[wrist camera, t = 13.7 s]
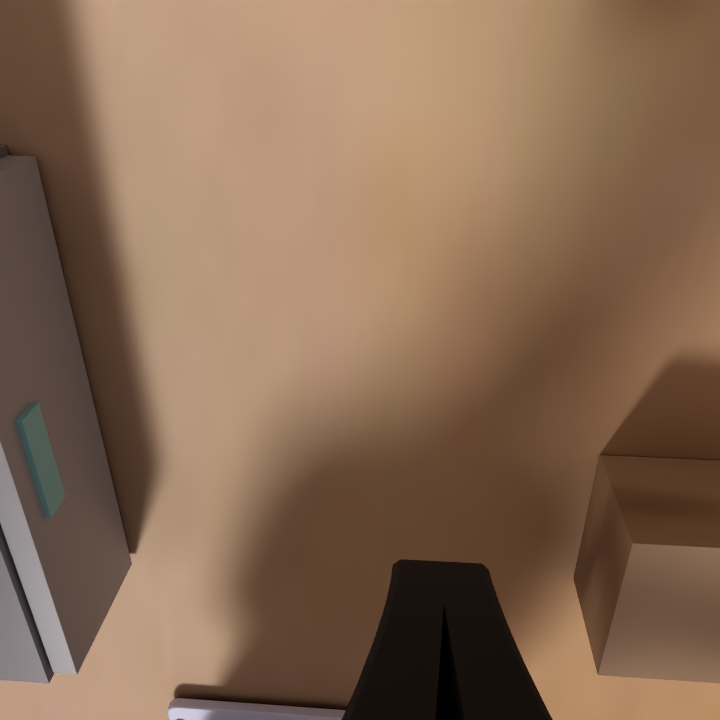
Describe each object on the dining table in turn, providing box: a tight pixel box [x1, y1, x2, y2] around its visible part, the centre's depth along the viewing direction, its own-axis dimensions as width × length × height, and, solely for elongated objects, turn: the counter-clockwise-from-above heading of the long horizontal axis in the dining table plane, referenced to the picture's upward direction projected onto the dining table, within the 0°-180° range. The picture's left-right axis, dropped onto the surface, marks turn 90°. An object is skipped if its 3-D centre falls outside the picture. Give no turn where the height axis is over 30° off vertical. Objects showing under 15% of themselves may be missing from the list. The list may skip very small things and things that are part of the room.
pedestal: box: [574, 455, 720, 683], centre depth 19 cm, size 5×5×4 cm
